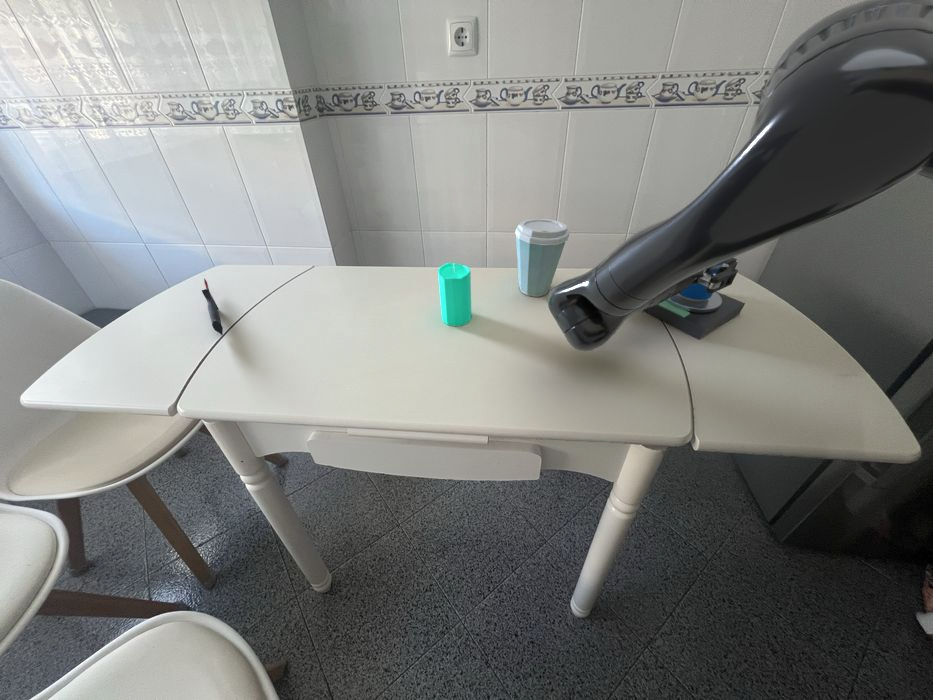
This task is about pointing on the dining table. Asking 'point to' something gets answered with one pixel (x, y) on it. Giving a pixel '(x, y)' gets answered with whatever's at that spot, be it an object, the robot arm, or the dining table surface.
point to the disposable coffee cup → (539, 253)
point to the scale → (697, 316)
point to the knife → (213, 310)
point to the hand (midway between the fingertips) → (708, 254)
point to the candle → (455, 293)
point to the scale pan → (697, 303)
